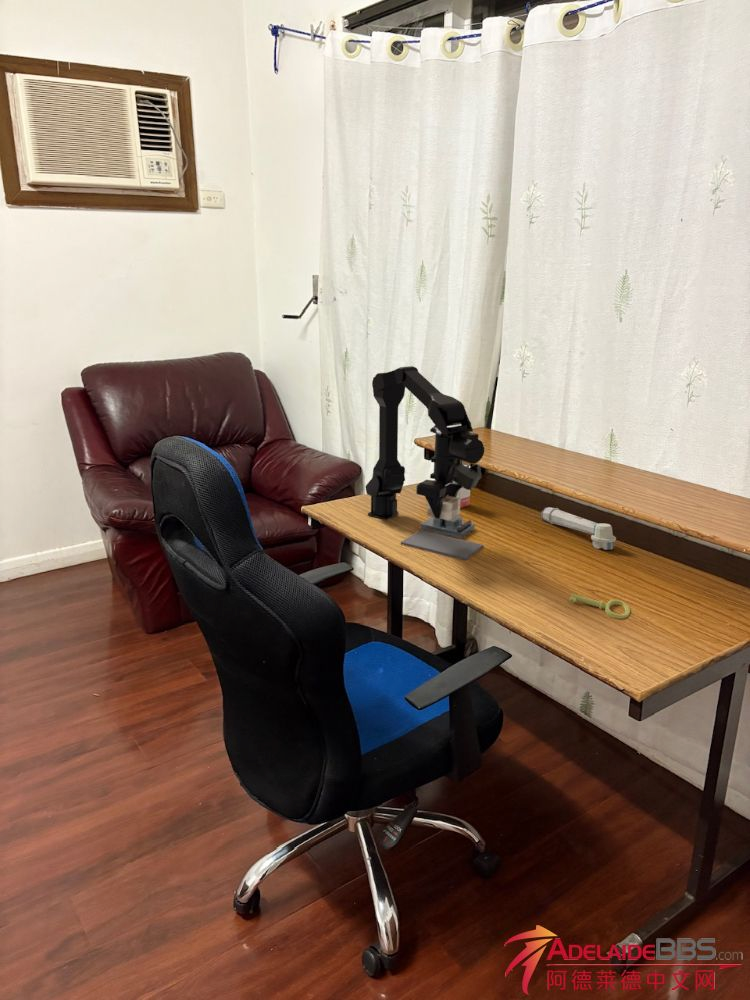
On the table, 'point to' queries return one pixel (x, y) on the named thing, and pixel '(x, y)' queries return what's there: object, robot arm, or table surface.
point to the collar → (447, 508)
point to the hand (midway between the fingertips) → (443, 514)
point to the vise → (448, 526)
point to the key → (603, 605)
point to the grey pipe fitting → (582, 526)
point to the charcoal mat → (442, 544)
